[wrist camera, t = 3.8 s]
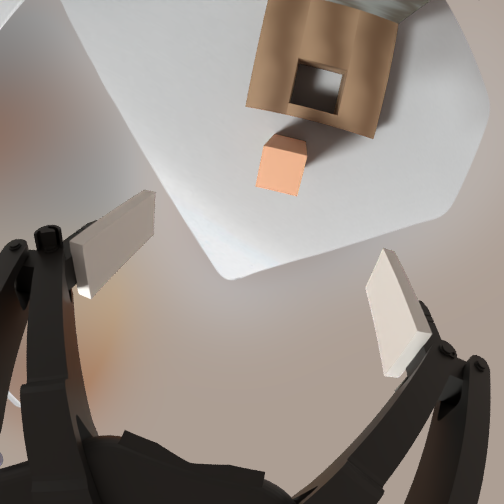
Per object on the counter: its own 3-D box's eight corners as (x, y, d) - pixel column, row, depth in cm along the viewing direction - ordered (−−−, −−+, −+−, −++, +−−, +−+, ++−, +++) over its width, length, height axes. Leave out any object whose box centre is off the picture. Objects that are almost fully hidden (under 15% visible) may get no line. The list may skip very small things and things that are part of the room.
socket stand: (248, 105, 36) (164, 112, 14) (272, -6, 27) (228, -117, 5) (368, 135, 35) (459, 191, 13) (392, 24, 26) (489, -44, 4)
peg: (268, 163, 40) (255, 186, 29) (274, 133, 38) (263, 145, 27) (298, 170, 40) (297, 196, 29) (305, 141, 37) (307, 155, 27)
